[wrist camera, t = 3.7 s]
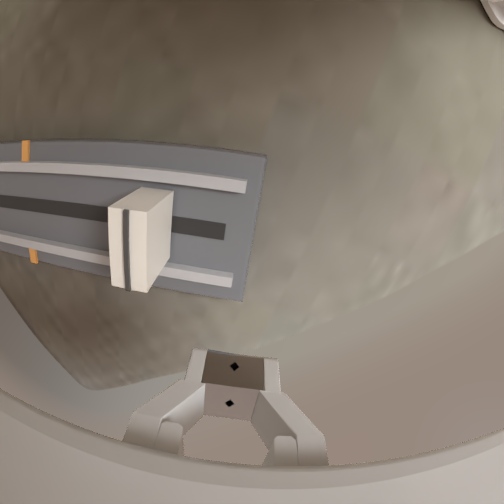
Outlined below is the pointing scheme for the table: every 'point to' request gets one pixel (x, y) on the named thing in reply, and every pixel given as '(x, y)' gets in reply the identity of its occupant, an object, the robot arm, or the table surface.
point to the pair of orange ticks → (27, 158)
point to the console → (122, 184)
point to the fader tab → (139, 237)
